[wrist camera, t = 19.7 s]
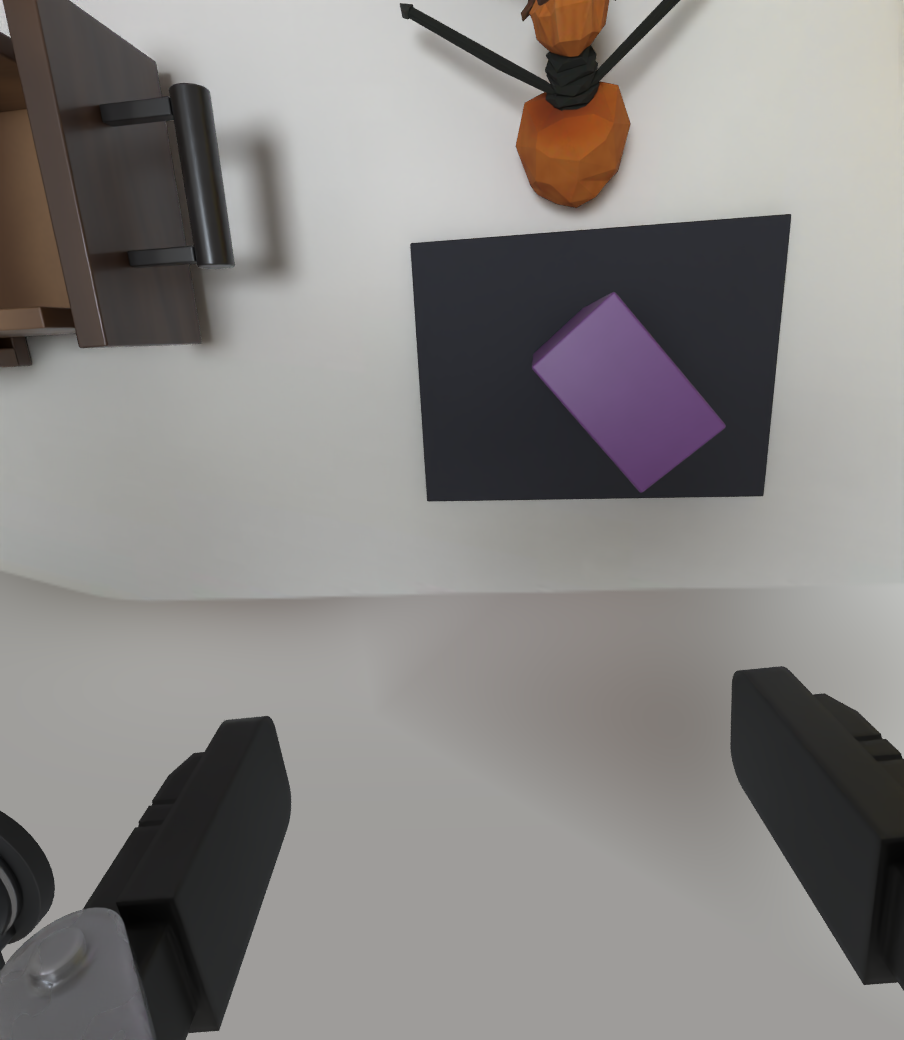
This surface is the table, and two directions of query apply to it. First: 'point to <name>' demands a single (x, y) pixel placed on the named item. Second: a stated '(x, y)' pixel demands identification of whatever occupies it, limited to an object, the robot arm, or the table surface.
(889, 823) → the robot arm
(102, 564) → the table surface
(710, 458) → the mat
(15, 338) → the cabinet
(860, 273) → the table surface
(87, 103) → the drawer
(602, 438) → the purple rectangular block
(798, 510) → the table surface
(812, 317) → the table surface
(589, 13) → the figurine
